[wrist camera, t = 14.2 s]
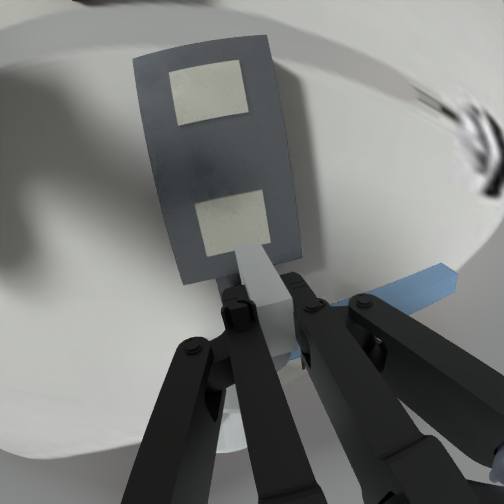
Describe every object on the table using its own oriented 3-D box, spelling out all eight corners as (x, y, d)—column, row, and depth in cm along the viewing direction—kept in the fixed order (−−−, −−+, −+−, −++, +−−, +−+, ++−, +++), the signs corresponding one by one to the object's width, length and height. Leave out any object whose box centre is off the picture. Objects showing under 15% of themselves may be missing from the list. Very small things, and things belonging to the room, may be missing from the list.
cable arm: (241, 358, 26) (246, 379, 24) (230, 324, 25) (234, 345, 22) (438, 287, 28) (453, 299, 25) (441, 254, 26) (459, 265, 24)
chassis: (185, 264, 31) (183, 287, 26) (143, 71, 23) (131, 57, 18) (288, 241, 33) (303, 259, 28) (256, 50, 24) (267, 33, 19)
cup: (261, 345, 38) (285, 417, 26) (230, 388, 40) (242, 457, 28) (194, 323, 34) (196, 400, 23) (169, 371, 37) (166, 444, 25)
